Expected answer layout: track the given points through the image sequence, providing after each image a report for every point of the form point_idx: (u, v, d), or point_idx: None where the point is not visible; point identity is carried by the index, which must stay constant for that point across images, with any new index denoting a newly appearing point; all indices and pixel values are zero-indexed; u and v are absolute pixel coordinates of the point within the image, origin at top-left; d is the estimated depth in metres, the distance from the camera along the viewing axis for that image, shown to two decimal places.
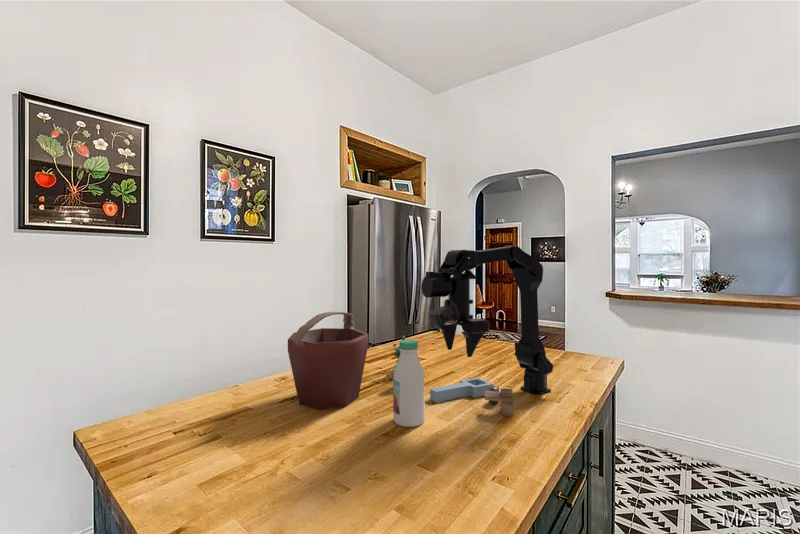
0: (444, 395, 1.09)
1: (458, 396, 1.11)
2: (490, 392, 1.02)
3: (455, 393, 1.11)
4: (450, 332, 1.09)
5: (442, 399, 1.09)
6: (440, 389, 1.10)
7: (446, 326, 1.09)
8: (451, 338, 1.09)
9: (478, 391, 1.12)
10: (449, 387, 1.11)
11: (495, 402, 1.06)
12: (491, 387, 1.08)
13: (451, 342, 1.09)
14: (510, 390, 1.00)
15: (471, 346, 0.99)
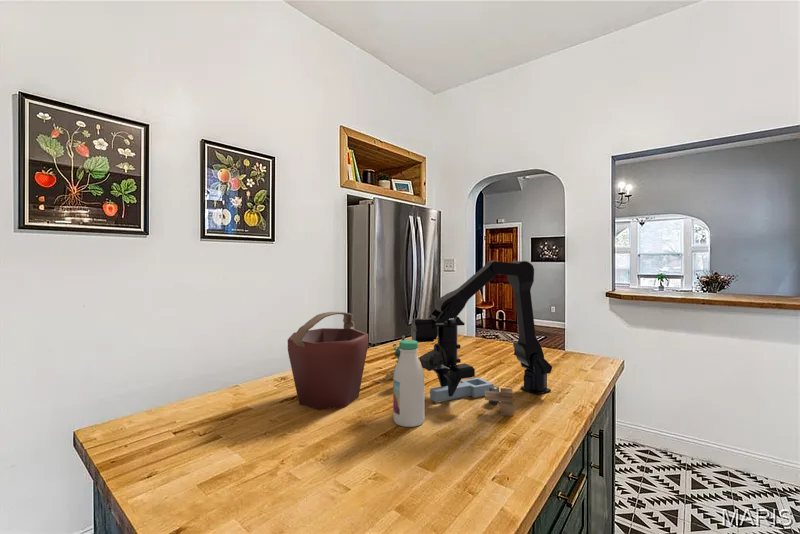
0: (444, 395, 1.09)
1: (458, 396, 1.11)
2: (490, 392, 1.02)
3: (455, 393, 1.11)
4: (445, 375, 1.13)
5: (442, 399, 1.09)
6: (440, 389, 1.10)
7: (441, 370, 1.13)
8: (446, 381, 1.13)
9: (478, 391, 1.12)
10: None
11: (495, 402, 1.06)
12: (491, 387, 1.08)
13: (446, 385, 1.13)
14: (510, 390, 1.00)
15: (452, 387, 1.09)
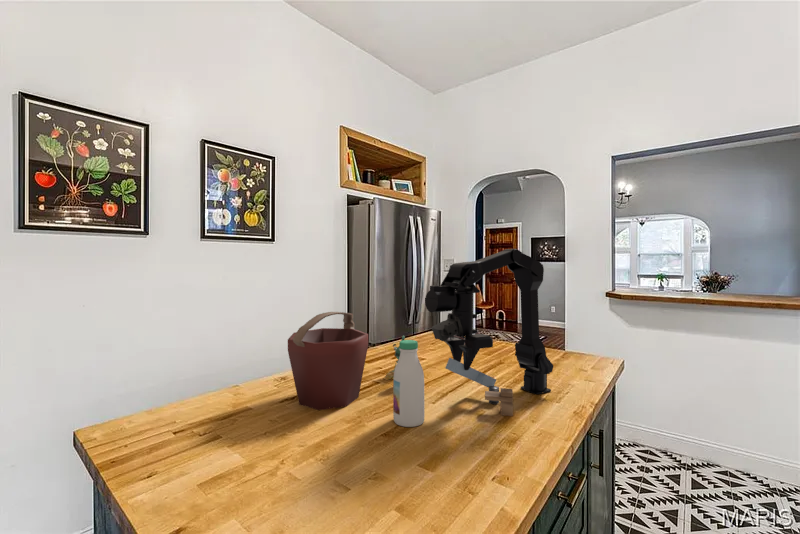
0: (461, 369, 1.01)
1: (469, 377, 1.04)
2: (490, 392, 1.02)
3: (468, 372, 1.03)
4: (458, 348, 1.05)
5: (459, 372, 1.00)
6: None
7: (454, 342, 1.05)
8: (459, 354, 1.05)
9: (486, 380, 1.06)
10: None
11: (495, 402, 1.06)
12: (491, 387, 1.08)
13: (459, 358, 1.05)
14: (510, 390, 1.00)
15: (468, 359, 1.00)
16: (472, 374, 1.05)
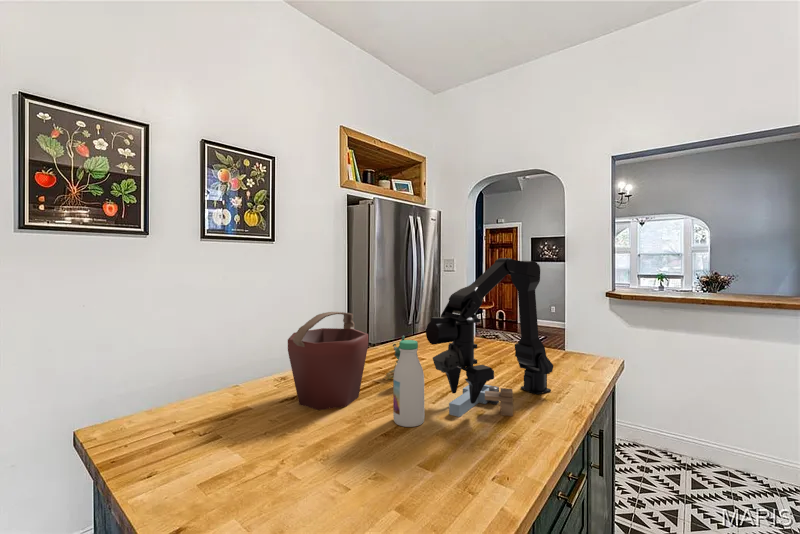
0: (464, 407, 1.00)
1: (472, 405, 1.04)
2: (490, 392, 1.02)
3: (470, 403, 1.03)
4: (454, 375, 1.07)
5: (463, 412, 1.00)
6: (459, 401, 1.00)
7: (450, 369, 1.07)
8: (455, 381, 1.07)
9: None
10: (465, 398, 1.03)
11: (495, 402, 1.06)
12: (491, 387, 1.08)
13: (455, 385, 1.07)
14: (510, 390, 1.00)
15: (475, 393, 0.98)
16: None
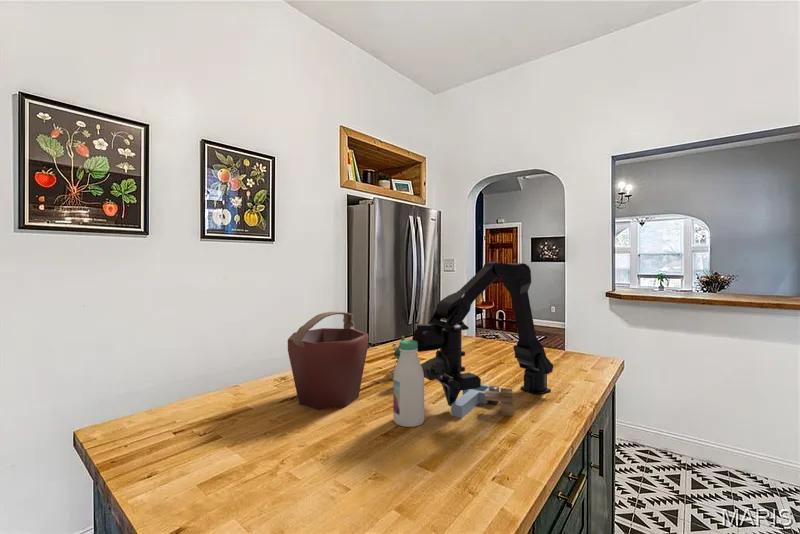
0: (466, 408, 1.00)
1: (473, 406, 1.04)
2: (490, 392, 1.02)
3: (472, 403, 1.03)
4: None
5: (465, 413, 0.99)
6: (461, 402, 1.00)
7: (447, 380, 1.02)
8: None
9: None
10: (466, 398, 1.02)
11: (495, 402, 1.06)
12: (491, 387, 1.08)
13: None
14: (510, 390, 1.00)
15: (452, 396, 1.01)
16: (475, 401, 1.05)
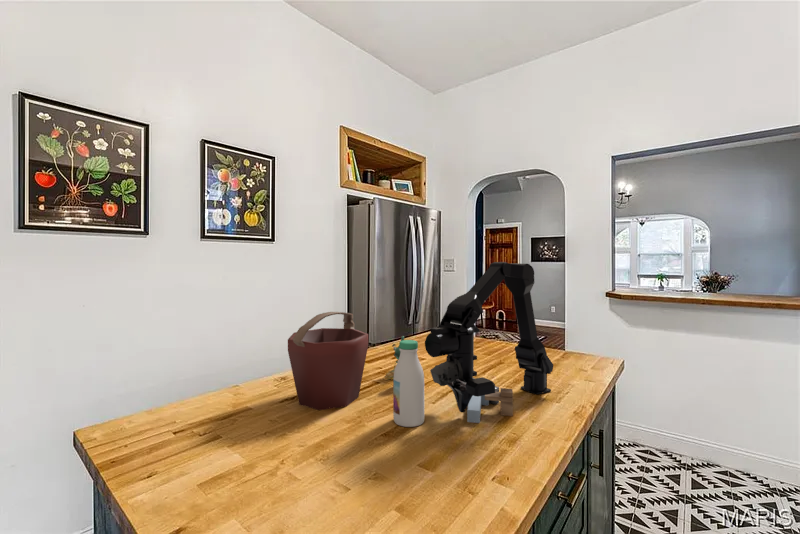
0: None
1: None
2: None
3: (480, 406, 1.01)
4: None
5: None
6: (475, 407, 0.97)
7: (458, 386, 0.98)
8: None
9: None
10: (476, 402, 1.00)
11: (495, 402, 1.06)
12: None
13: None
14: (510, 390, 1.00)
15: (464, 401, 0.97)
16: None
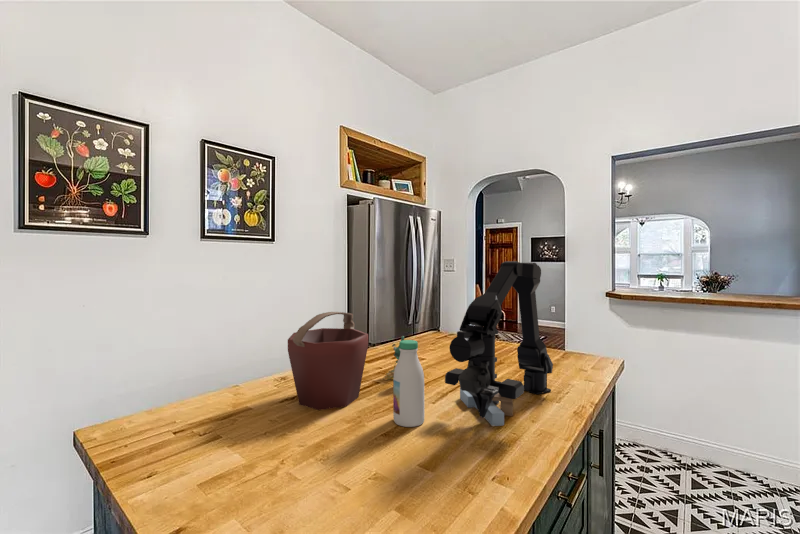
0: None
1: None
2: None
3: None
4: (482, 396, 0.95)
5: None
6: (496, 409, 0.95)
7: (479, 390, 0.94)
8: None
9: None
10: (491, 404, 0.98)
11: (495, 402, 1.06)
12: None
13: None
14: None
15: (486, 406, 0.94)
16: None
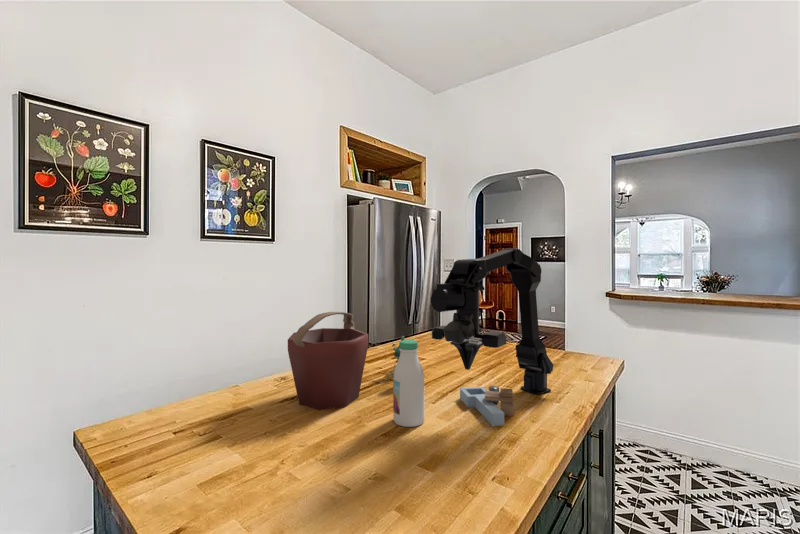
0: None
1: None
2: (490, 392, 1.02)
3: None
4: (466, 350, 0.99)
5: None
6: (496, 409, 0.95)
7: (463, 344, 0.98)
8: None
9: None
10: (491, 404, 0.98)
11: (495, 402, 1.06)
12: (491, 387, 1.08)
13: None
14: (510, 390, 1.00)
15: (471, 358, 0.97)
16: None
